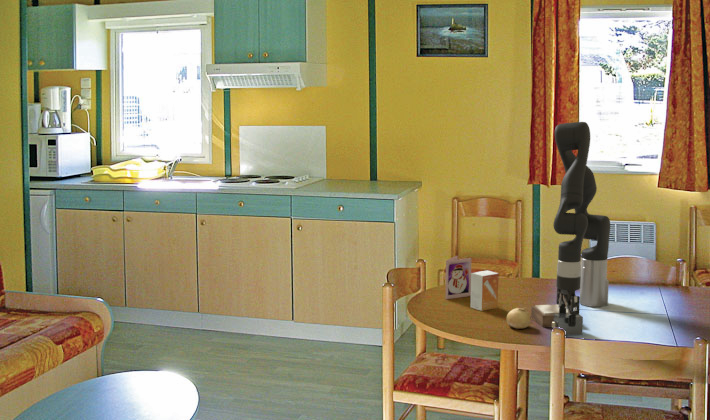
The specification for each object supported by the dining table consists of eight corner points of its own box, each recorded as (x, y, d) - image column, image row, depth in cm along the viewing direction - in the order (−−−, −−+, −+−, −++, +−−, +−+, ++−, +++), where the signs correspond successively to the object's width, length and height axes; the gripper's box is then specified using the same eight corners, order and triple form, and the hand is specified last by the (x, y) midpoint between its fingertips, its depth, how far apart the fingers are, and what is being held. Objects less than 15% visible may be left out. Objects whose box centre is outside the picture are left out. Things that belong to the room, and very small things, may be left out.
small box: (481, 311, 288) (482, 276, 286) (470, 307, 293) (470, 272, 291) (498, 307, 292) (499, 273, 290) (486, 304, 297) (487, 269, 295)
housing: (576, 330, 265) (577, 312, 264) (582, 334, 260) (582, 317, 259) (549, 331, 264) (550, 313, 263) (554, 336, 259) (555, 318, 258)
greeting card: (446, 299, 304) (447, 261, 301) (436, 295, 310) (436, 257, 308) (472, 296, 308) (472, 258, 306) (461, 292, 315) (462, 254, 313)
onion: (507, 330, 265) (508, 309, 264) (504, 323, 273) (505, 303, 272) (532, 330, 264) (532, 310, 263) (528, 323, 272) (529, 303, 271)
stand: (564, 315, 281) (564, 303, 280) (577, 325, 269) (577, 312, 269) (531, 317, 280) (531, 304, 279) (542, 327, 268) (542, 314, 267)
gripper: (588, 278, 252) (586, 328, 254) (572, 269, 266) (570, 316, 269) (565, 279, 251) (563, 329, 254) (550, 269, 265) (548, 317, 268)
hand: (566, 322), depth 261 cm, fingers open, 8 cm apart
